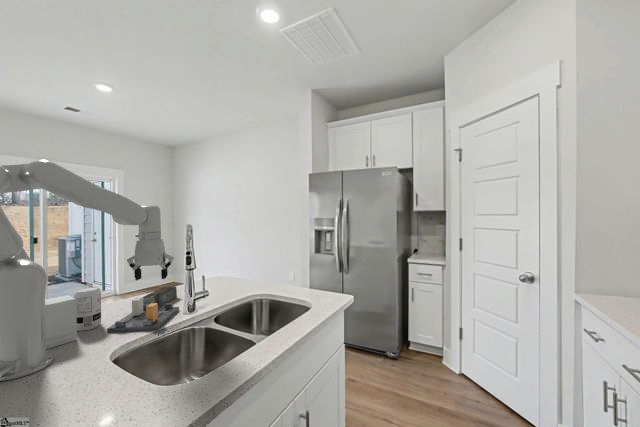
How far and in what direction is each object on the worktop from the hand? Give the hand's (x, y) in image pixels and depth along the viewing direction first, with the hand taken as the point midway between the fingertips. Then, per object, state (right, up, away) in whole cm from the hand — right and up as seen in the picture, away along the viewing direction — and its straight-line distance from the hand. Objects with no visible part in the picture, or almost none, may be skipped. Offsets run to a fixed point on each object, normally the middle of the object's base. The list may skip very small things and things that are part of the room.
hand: (151, 278), depth 109 cm
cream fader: (-11, -17, +8) cm, 21 cm away
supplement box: (-25, -19, -13) cm, 34 cm away
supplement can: (-25, -19, -1) cm, 31 cm away
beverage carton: (-12, -19, +27) cm, 35 cm away
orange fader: (0, -17, 0) cm, 17 cm away
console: (-5, -19, +5) cm, 20 cm away
